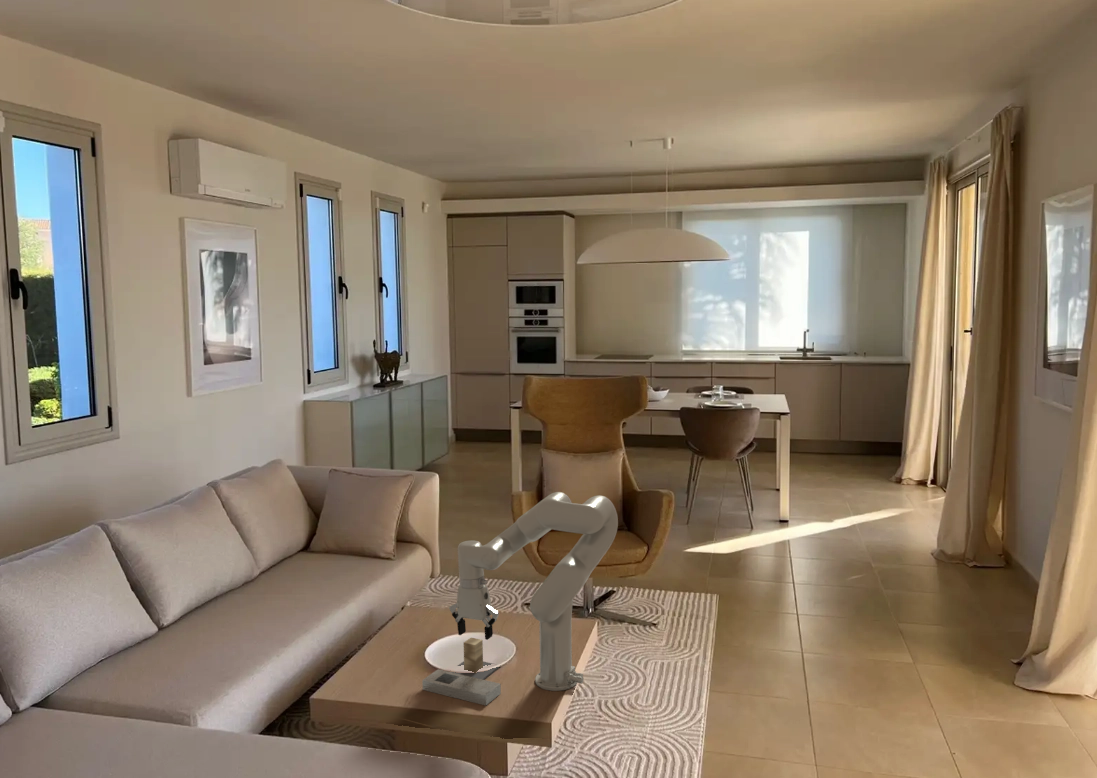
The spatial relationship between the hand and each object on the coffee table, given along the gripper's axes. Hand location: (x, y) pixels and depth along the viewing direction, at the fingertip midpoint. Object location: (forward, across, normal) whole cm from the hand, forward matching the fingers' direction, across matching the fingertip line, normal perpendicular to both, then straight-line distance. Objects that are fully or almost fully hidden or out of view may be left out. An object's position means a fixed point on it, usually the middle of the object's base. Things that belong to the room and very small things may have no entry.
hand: (475, 635), depth 258 cm
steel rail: (+12, -3, +13) cm, 18 cm away
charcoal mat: (+11, +1, 0) cm, 11 cm away
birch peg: (+11, +1, 0) cm, 11 cm away
